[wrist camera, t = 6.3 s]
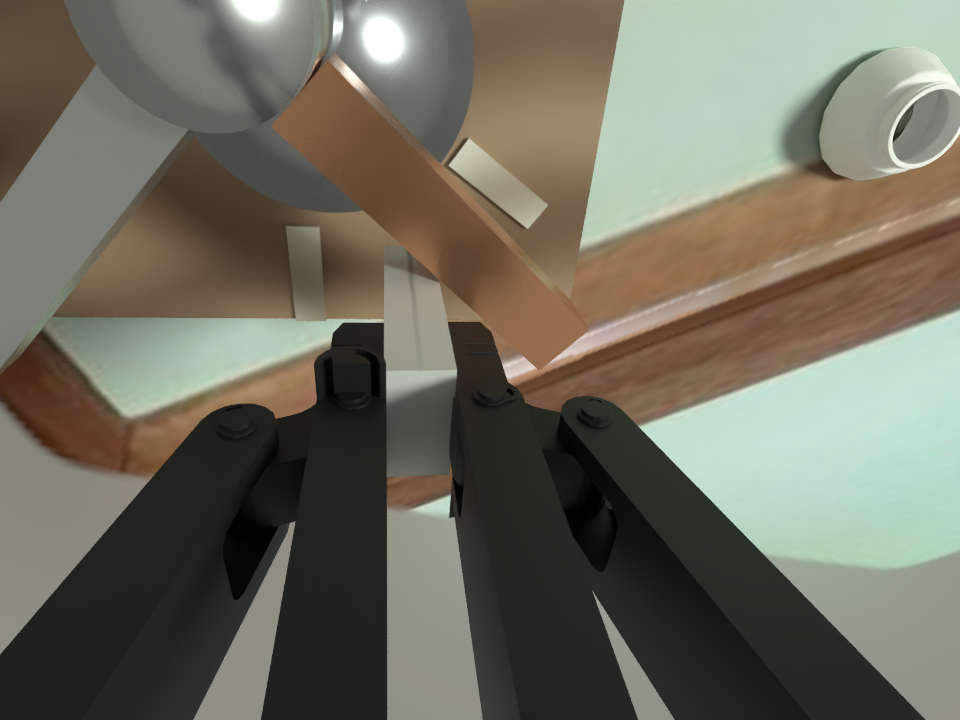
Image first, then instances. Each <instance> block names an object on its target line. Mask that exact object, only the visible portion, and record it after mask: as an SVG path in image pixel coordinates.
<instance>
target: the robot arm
mask: <svg viewBox="0 0 960 720" xmlns="http://www.w3.org/2000/svg"><path fill="white" fill-rule="evenodd" d="M314 370H315V382H316V394H317V402H316V404H315V405H314V406H312V407H311V408H309V409H307V410H305V411H303V412H301V413H297V414H294V415H291V416H286V417H282V418H278V419H275V416H274V413H273V412H271V411H270V410H269V409H267V408H266V407H264V406H260V405H256V404H235V405H230V406H225V407H222V408H220V409H218V410H216V411H213V412H211V413H210V414H209V415H207V416H206V417H205V418H204V419H202V420H201V421H200V422H199V424H198V425H197V426H196V427H195V428H194V429H193V431H192V432H191V433H190V434H189V435H188V436H187V438H186V439H185V440H184V441H183V442H182V443H181V445H180V446H179V447H178V448H177V449H176V450H175V452H174V453H173V454H172V455H171V456H170V457H169V459H168V460H167V461H166V462H165V463H164V464H163V466H162V467H161V468H160V469H159V470H158V471H157V473H156V474H155V475H154V476H153V477H152V478H151V480H150V481H149V482H148V483H147V484H146V485H145V487H144V488H143V489H142V490H141V491H140V492H139V494H138V495H137V496H136V497H135V498H134V499H133V501H132V502H131V503H130V504H129V505H128V506H127V508H126V509H125V510H124V511H123V512H122V513H121V515H120V516H119V517H118V518H117V519H116V520H115V521H114V523H113V524H112V525H111V526H110V527H109V529H108V530H107V531H106V532H105V533H104V534H103V535H102V537H101V538H100V539H99V540H98V541H97V542H96V544H95V545H94V546H93V547H92V548H91V550H90V551H89V552H88V553H87V554H86V555H85V556H84V558H83V559H82V560H81V561H80V562H79V564H78V565H77V566H76V567H75V568H74V569H73V570H72V572H71V573H70V574H69V575H68V576H67V577H66V579H65V580H64V581H63V582H62V583H61V584H60V586H59V587H58V588H57V589H56V590H55V591H54V593H53V594H52V595H51V596H50V597H49V598H48V600H47V601H46V602H45V603H44V604H43V605H42V607H41V608H40V609H39V610H38V611H37V612H36V613H35V615H34V616H33V617H32V618H31V619H30V621H29V622H28V623H27V624H26V625H25V626H24V627H23V629H22V630H21V631H20V632H19V633H18V634H17V636H16V637H15V638H14V639H13V640H12V641H11V643H10V644H9V645H8V646H7V647H6V648H5V650H4V651H3V652H2V653H1V654H0V720H193V719H194V717H195V715H196V713H197V711H198V709H199V707H200V705H201V703H202V701H203V699H204V697H205V695H206V693H207V691H208V689H209V687H210V685H211V683H212V681H213V679H214V677H215V675H216V673H217V671H218V669H219V667H220V665H221V663H222V661H223V659H224V657H225V655H226V653H227V651H228V649H229V647H230V645H231V643H232V641H233V639H234V637H235V635H236V633H237V631H238V629H239V627H240V625H241V623H242V622H243V620H244V617H245V615H246V613H247V612H248V609H249V608H250V606H251V604H252V602H253V599H254V598H255V596H256V594H257V592H258V590H259V587H260V586H261V584H262V581H263V580H264V578H265V576H266V574H267V571H268V570H269V568H270V566H271V564H272V562H273V560H274V558H275V556H276V554H277V552H278V550H279V548H280V546H281V544H282V542H283V540H284V538H285V536H286V534H287V532H288V528H289V524H290V523H291V522H294V521H296V523H295V529H294V534H293V540H292V545H291V551H290V557H289V562H288V568H287V574H286V580H285V585H284V591H283V597H282V602H281V608H280V614H279V620H278V625H277V631H276V637H275V643H274V649H273V654H272V660H271V666H270V671H269V677H268V682H267V688H266V694H265V700H264V705H263V711H262V717H261V720H387V477H396V476H425V475H449V472H450V461H451V468H452V474H453V477H452V489H451V502H450V514H449V517H450V518H451V517H455V522H456V529H457V537H458V544H459V551H460V558H461V566H462V573H463V580H464V587H465V594H466V601H467V608H468V615H469V623H470V630H471V637H472V645H473V652H474V659H475V666H476V673H477V680H478V687H479V695H480V702H481V709H482V716H483V720H638V718H637V715H636V713H635V710H634V707H633V704H632V701H631V698H630V696H629V693H628V690H627V687H626V685H625V682H624V679H623V676H622V673H621V670H620V668H619V665H618V662H617V659H616V656H615V654H614V651H613V648H612V645H611V642H610V639H609V637H608V634H607V631H606V628H605V625H604V623H603V620H602V617H601V614H600V611H599V609H598V606H597V603H596V600H595V597H594V595H593V592H594V594H595V595H596V597H597V598H598V600H599V601H600V603H601V605H602V606H603V608H604V609H605V611H606V612H607V614H608V615H609V617H610V619H611V620H612V622H613V623H614V625H615V627H616V628H617V630H618V631H619V633H620V634H621V636H622V638H623V639H624V641H625V642H626V644H627V645H628V647H629V649H630V650H631V652H632V653H633V655H634V656H635V658H636V659H637V661H638V663H639V664H640V666H641V667H642V669H643V670H644V672H645V673H646V675H647V677H648V678H649V680H650V681H651V683H652V684H653V686H654V688H655V689H656V691H657V692H658V694H659V696H660V697H661V699H662V700H663V702H664V703H665V705H666V707H667V708H668V710H669V711H670V713H671V714H672V716H673V718H674V719H675V720H925V719H924V718H923V717H922V716H921V715H920V714H919V713H918V712H917V711H916V710H915V709H914V708H913V707H912V706H911V705H910V703H909V702H907V700H906V699H905V698H904V697H903V696H902V695H901V694H900V693H899V692H898V691H897V690H896V689H895V688H894V687H893V686H892V685H891V684H890V683H889V682H888V681H887V680H886V679H885V678H884V677H883V676H882V675H881V674H880V673H879V672H878V671H877V670H876V669H875V668H874V667H873V666H872V665H871V664H870V663H869V662H868V661H867V660H866V659H865V658H864V657H863V656H862V655H861V654H860V652H858V651H857V649H856V648H855V647H854V646H853V645H852V644H851V643H850V642H849V641H848V640H847V639H846V638H845V637H844V636H843V635H842V634H841V633H840V632H839V631H838V630H837V629H836V628H835V627H834V626H833V625H832V624H831V623H830V622H829V621H828V620H827V619H826V618H825V617H824V616H823V615H822V614H821V613H820V612H819V611H818V610H817V609H816V608H815V607H814V605H813V604H812V603H811V602H810V601H808V599H807V598H806V597H804V595H803V594H802V593H801V592H800V591H799V590H798V589H797V588H796V587H795V586H794V585H793V584H792V583H791V582H790V581H789V580H788V579H787V578H786V577H785V576H784V575H783V574H782V573H781V572H780V571H779V570H778V569H777V568H776V567H775V566H774V565H773V564H772V563H771V562H770V561H769V560H768V559H767V558H766V556H765V555H764V554H763V553H762V552H761V551H760V550H759V549H758V548H757V547H756V546H755V545H754V544H753V543H752V542H751V541H750V540H749V539H748V538H747V537H746V536H745V535H744V534H743V533H742V532H741V531H740V530H739V529H738V528H737V527H736V526H735V525H734V524H733V523H732V522H731V521H730V520H729V519H728V518H727V517H726V516H725V515H724V514H723V513H722V512H721V511H720V510H719V509H718V508H717V506H716V505H715V504H714V503H713V502H712V501H711V500H710V499H709V498H708V497H707V496H706V495H705V494H704V493H703V492H702V491H701V490H700V489H699V488H698V487H697V486H696V485H695V484H694V483H693V482H692V481H691V480H690V479H689V478H688V477H687V476H686V475H685V474H684V473H683V472H682V471H681V470H680V469H679V468H678V467H677V466H676V465H675V464H674V463H673V462H672V461H671V460H670V459H669V457H668V456H667V455H666V454H665V453H664V452H663V451H662V450H661V449H660V448H659V447H658V446H657V445H656V444H655V443H654V442H653V441H652V440H651V439H650V438H649V437H648V436H647V435H646V434H645V433H644V432H643V431H642V430H641V429H640V428H639V427H638V426H637V425H636V424H635V423H634V422H633V421H632V420H631V419H630V418H629V417H628V416H627V415H626V414H625V413H624V412H623V411H622V410H621V409H620V408H619V407H617V406H616V405H615V404H613V403H611V402H609V401H606V400H604V399H602V398H597V397H591V396H581V397H575V398H572V399H569V400H567V401H566V402H565V403H564V404H563V405H562V409H561V412H556V411H551V410H546V409H541V408H537V407H534V406H531V405H529V404H527V403H525V401H524V398H523V396H522V394H521V393H520V391H519V390H518V389H517V388H516V387H514V386H513V385H511V384H510V383H508V381H507V378H506V375H505V372H504V369H503V366H502V363H501V360H500V357H499V355H498V351H497V348H496V346H495V342H494V339H493V336H492V333H491V331H489V330H488V329H487V328H486V327H485V326H484V325H483V324H482V323H480V322H447V317H446V312H445V307H444V302H443V297H442V292H441V287H440V282H439V279H438V278H437V277H436V276H435V275H434V274H433V273H432V272H430V271H429V270H428V269H427V268H426V267H425V266H424V265H423V264H422V263H421V262H419V261H418V260H417V259H416V258H415V257H414V256H413V255H412V254H411V253H410V252H408V251H407V250H406V249H405V248H404V247H403V246H384V323H343V324H342V325H341V326H340V327H339V328H338V329H337V330H336V331H335V332H334V333H333V337H332V343H331V349H330V350H327V351H325V352H324V353H322V354H321V355H319V356H318V357H317V359H316V361H315V363H314ZM592 590H593V592H592Z"/></svg>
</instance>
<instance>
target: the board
mask: <svg viewBox="0 0 960 720" xmlns="http://www.w3.org/2000/svg"><path fill="white" fill-rule="evenodd" d="M465 1H466V5H467V9H468V13H469V16H470V20H471V27H472V34H473V41H474V66H475V67H474V78H473V88H472V93H471V98H470V103H469V107H468V111H467V113H466V116H465V119H464V122H463V125H462V128H461V130H460V132H459V134H458V136H457V138H456V140H455V142H454V144H453V146H452V147H451V149H450V150H449V152H448V153H447V155H446V156H445V158H444V160H443V161H442V162H441V163H440V164H441V165H442V166H443V167H444V168H445V169H446V170H447V171H448V172H449V173H450V174H451V175H452V176H453V177H454V178H455V179H456V180H457V182H458V183H459V184H460V185H461V186H462V187H463V188H464V189H465V190H466V191H467V192H468V193H469V194H470V195H471V196H472V197H473V198H474V199H475V200H476V201H477V203H478V204H479V205H480V206H481V207H482V208H483V209H484V210H485V211H486V212H487V213H488V214H489V215H490V216H491V217H492V218H493V219H494V220H495V221H496V222H497V223H498V225H499V226H500V227H501V228H502V229H503V230H504V231H505V232H506V233H507V234H508V235H509V236H510V237H511V238H512V239H513V240H514V241H515V242H516V243H517V244H518V246H519V247H520V248H521V249H522V250H523V251H524V252H525V253H526V254H527V255H528V256H529V257H530V258H531V259H532V260H533V261H534V262H535V263H536V264H537V265H538V266H539V268H540V269H541V270H542V271H543V272H544V273H545V274H546V275H547V276H548V277H549V278H550V279H551V280H552V281H553V282H554V283H555V284H556V285H557V286H558V287H559V288H560V290H561V291H562V292H563V293H564V294H565V295H566V296H567V297H568V298H569V299H570V297H571V291H572V286H573V280H574V275H575V269H576V264H577V258H578V253H579V247H580V242H581V236H582V231H583V225H584V220H585V214H586V209H587V203H588V198H589V192H590V187H591V181H592V175H593V170H594V164H595V159H596V153H597V148H598V142H599V137H600V131H601V126H602V120H603V115H604V109H605V104H606V98H607V93H608V87H609V82H610V76H611V71H612V65H613V60H614V54H615V49H616V43H617V38H618V32H619V27H620V21H621V16H622V10H623V5H624V0H465ZM95 65H96V63H95V62H94V61H93V59H92V58H91V57H90V55H89V53H88V52H87V50H86V48H85V47H84V45H83V44H82V42H81V40H80V38H79V36H78V34H77V32H76V30H75V28H74V26H73V24H72V22H71V19H70V16H69V13H68V11H67V8H66V5H65V2H64V0H0V202H1V201H2V200H3V198H4V197H5V195H6V194H7V192H8V191H9V189H10V188H11V187H12V185H13V184H14V182H15V181H16V179H17V178H18V176H19V175H20V174H21V172H22V171H23V169H24V168H25V166H26V165H27V163H28V162H29V161H30V159H31V158H32V156H33V155H34V153H35V152H36V151H37V149H38V148H39V146H40V145H41V143H42V142H43V140H44V139H45V138H46V136H47V135H48V133H49V132H50V130H51V129H52V127H53V126H54V125H55V123H56V122H57V120H58V119H59V117H60V116H61V114H62V113H63V112H64V110H65V109H66V107H67V106H68V104H69V103H70V101H71V100H72V99H73V97H74V96H75V94H76V93H77V91H78V90H79V88H80V87H81V86H82V84H83V83H84V81H85V80H86V78H87V77H88V76H89V74H90V73H91V71H92V70H93V68H94V67H95ZM384 246H402V245H401V244H400V243H398V242H397V241H396V240H395V239H394V238H393V237H392V236H391V235H390V234H389V233H387V232H386V231H385V230H384V229H383V228H382V227H381V226H380V225H379V224H378V223H376V222H375V221H374V220H373V219H372V218H371V217H370V216H369V215H368V214H367V213H365V212H364V211H363V210H361V211H356V212H345V213H328V212H316V211H311V210H305V209H300V208H297V207H294V206H290V205H287V204H284V203H281V202H279V201H276V200H274V199H272V198H270V197H267V196H265V195H263V194H261V193H260V192H258V191H256V190H255V189H253V188H251V187H249V186H248V185H246V184H245V183H243V182H242V181H241V180H239V179H238V178H237V177H235V176H234V175H232V174H231V173H230V172H229V171H227V170H226V169H225V168H224V167H223V166H222V165H221V164H220V163H219V162H218V161H217V160H216V159H214V158H213V157H212V156H211V154H210V153H209V152H208V151H207V150H206V149H205V148H204V146H203V145H202V144H201V143H200V142H199V141H198V139H197V138H196V137H194V138H193V140H192V141H191V142H190V143H189V145H188V146H187V147H186V148H185V150H184V151H183V152H182V154H181V155H180V156H179V157H178V159H177V160H176V161H175V162H174V164H173V165H172V166H171V167H170V169H169V170H168V171H167V172H166V174H165V175H164V176H163V177H162V179H161V180H160V181H159V182H158V184H157V185H156V186H155V187H154V189H153V190H152V191H151V192H150V194H149V195H148V196H147V198H146V199H145V200H144V201H143V203H142V204H141V205H140V206H139V208H138V209H137V210H136V211H135V213H134V214H133V215H132V216H131V218H130V219H129V220H128V221H127V223H126V224H125V225H124V226H123V228H122V229H121V230H120V231H119V233H118V234H117V235H116V236H115V238H114V239H113V240H112V241H111V243H110V244H109V245H108V247H107V248H106V249H105V250H104V252H103V253H102V254H101V255H100V257H99V258H98V259H97V260H96V262H95V263H94V264H93V265H92V267H91V268H90V269H89V270H88V272H87V273H86V274H85V275H84V277H83V278H82V279H81V280H80V282H79V283H78V284H77V285H76V287H75V288H74V289H73V291H72V292H71V293H70V294H69V296H68V297H67V298H66V299H65V301H64V302H63V303H62V304H61V306H60V307H59V308H58V309H57V311H56V312H55V313H54V314H53V316H52V317H168V318H296V321H326V319H384ZM439 282H440V287H441V292H442V297H443V302H444V307H445V312H446V317H447V320H483V319H482V318H481V317H480V316H479V315H478V314H477V313H476V312H474V311H473V310H472V309H471V308H470V307H469V306H468V305H467V304H466V303H465V302H463V301H462V300H461V299H460V298H459V297H458V296H457V295H456V294H455V293H454V292H452V291H451V290H450V289H449V288H448V287H447V286H446V285H445V284H444V283H443V282H441V281H440V280H439Z"/></svg>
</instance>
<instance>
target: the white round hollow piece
mask: <svg viewBox="0 0 960 720" xmlns="http://www.w3.org/2000/svg"><path fill="white" fill-rule="evenodd" d="M915 101H916V102H915ZM914 102H915V105H914V109H913V112H912V115H911V119H910V120H909V122H908V124H907V125H906V127H905V128H904V130H903V132H902V133H901V135H900V136H899V137H898V138H897V139H896V140H895V141H894V142H893V135H894V131H895V129H896V126H897V124H898V122H899V120H900V119H901V117H902V115H903V114H904V113H905V111H906V110H907V109H908V108H909V107H910V106H911V105H912V104H913V103H914ZM959 134H960V88H959V87H958V86H957V84H956V82H955V81H954V79H953V77H952V76H951V74H950V73H949V72H948V70H947V69H946V68H945V66H944V65H943V64H942V62H941V61H940V60H939V59H938V57H937V56H936V55H934V54H932V53H930V52H927V51H925V50H923V49H920V48H918V47H912V46H909V47H901V48H893V49H886V50H884V51H882V52H880V53H879V54H877V55H875V56H873V57H871V58H870V59H868V60H866V61H864V62H862V63H861V64H860V65H859V66H858V67H857V68H856V69H855V70H854V71H853V72H852V73H851V74H850V75H849V76H848V77H847V78H846V79H845V80H844V81H843V82H842V83H841V84H840V85H839V87H838V88H837V90H836V92H835V94H834V95H833V97H832V99H831V101H830V103H829V104H828V106H827V108H826V110H825V111H824V116H823V120H822V125H821V129H820V134H819V141H820V147H821V154H822V159H823V160H824V161H825V162H826V164H827V165H828V166H829V167H830V169H831V170H832V171H833V172H834V173H836V174H838V175H841V176H844V177H847V178H850V179H853V180H856V181H860V180H867V179H874V178H880V177H884V176H888V175H892V174H896V173H900V172H904V171H906V170H908V169H914V168H919V167H922V166H925V165H927V164H929V163H931V162H933V161H934V160H936V159H937V158H939V157H940V156H941V155H942V154H943V153H945V152H946V151H947V150H948V149H949V148H950V146H951V145H952V144H953V143H954V141H955V140H956V139H957V137H958V136H959ZM892 142H893V143H892Z"/></svg>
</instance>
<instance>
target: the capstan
mask: <svg viewBox="0 0 960 720" xmlns="http://www.w3.org/2000/svg"><path fill="white" fill-rule="evenodd" d="M64 2H65V5H66V8H67V11H68V13H69V16H70V19H71V22H72V24H73V26H74V28H75V30H76V32H77V34H78V36H79V38H80V40H81V42H82V44H83V45H84V47H85V48H86V50H87V52H88V53H89V55H90V57H91V58H92V59H93V61H94V62H95V63H96V65H95V67H94V68H93V70H92V71H91V73H90V74H89V76H88V77H87V78H86V80H85V81H84V83H83V84H82V86H81V87H80V88H79V90H78V91H77V93H76V94H75V96H74V97H73V99H72V100H71V101H70V103H69V104H68V106H67V107H66V109H65V110H64V112H63V113H62V114H61V116H60V117H59V119H58V120H57V122H56V123H55V125H54V126H53V127H52V129H51V130H50V132H49V133H48V135H47V136H46V138H45V139H44V140H43V142H42V143H41V145H40V146H39V148H38V149H37V151H36V152H35V153H34V155H33V156H32V158H31V159H30V161H29V162H28V163H27V165H26V166H25V168H24V169H23V171H22V172H21V174H20V175H19V176H18V178H17V179H16V181H15V182H14V184H13V185H12V187H11V188H10V189H9V191H8V192H7V194H6V195H5V197H4V198H3V200H2V201H1V202H0V374H1V373H3V372H4V371H5V370H6V369H7V368H8V367H9V366H10V365H11V364H12V363H13V362H14V361H15V360H16V359H17V358H18V357H19V356H21V355H22V353H23V352H24V351H25V350H26V348H27V347H28V346H29V345H30V343H31V342H32V341H33V340H34V338H35V337H36V336H37V335H38V333H39V332H40V331H41V329H42V328H43V327H44V326H45V324H46V323H47V322H48V321H49V319H50V318H51V317H52V316H53V314H54V313H55V312H56V311H57V309H58V308H59V307H60V306H61V304H62V303H63V302H64V301H65V299H66V298H67V297H68V296H69V294H70V293H71V292H72V291H73V289H74V288H75V287H76V285H77V284H78V283H79V282H80V280H81V279H82V278H83V277H84V275H85V274H86V273H87V272H88V270H89V269H90V268H91V267H92V265H93V264H94V263H95V262H96V260H97V259H98V258H99V257H100V255H101V254H102V253H103V252H104V250H105V249H106V248H107V247H108V245H109V244H110V243H111V241H112V240H113V239H114V238H115V236H116V235H117V234H118V233H119V231H120V230H121V229H122V228H123V226H124V225H125V224H126V223H127V221H128V220H129V219H130V218H131V216H132V215H133V214H134V213H135V211H136V210H137V209H138V208H139V206H140V205H141V204H142V203H143V201H144V200H145V199H146V198H147V196H148V195H149V194H150V192H151V191H152V190H153V189H154V187H155V186H156V185H157V184H158V182H159V181H160V180H161V179H162V177H163V176H164V175H165V174H166V172H167V171H168V170H169V169H170V167H171V166H172V165H173V164H174V162H175V161H176V160H177V159H178V157H179V156H180V155H181V154H182V152H183V151H184V150H185V148H186V147H187V146H188V145H189V143H190V142H191V141H192V140H193V138H194V137H196V138H197V139H198V141H199V142H200V143H201V144H202V145H203V146H204V148H205V149H206V150H207V151H208V152H209V153H210V154H211V156H212V157H213V158H214V159H216V160H217V161H218V162H219V163H220V164H221V165H222V166H223V167H224V168H225V169H226V170H227V171H229V172H230V173H231V174H232V175H234V176H235V177H237V178H238V179H239V180H241V181H242V182H243V183H245V184H246V185H248V186H249V187H251V188H253V189H255V190H256V191H258V192H260V193H261V194H263V195H265V196H267V197H270V198H272V199H274V200H276V201H279V202H281V203H284V204H287V205H290V206H294V207H297V208H300V209H305V210H311V211H316V212H328V213H345V212H356V211H361V210H363V211H364V212H365V213H367V214H368V215H369V216H370V217H371V218H372V219H373V220H374V221H375V222H376V223H378V224H379V225H380V226H381V227H382V228H383V229H384V230H385V231H386V232H387V233H389V234H390V235H391V236H392V237H393V238H394V239H395V240H396V241H397V242H398V243H400V244H401V245H402V246H403V247H404V248H405V249H406V250H407V251H408V252H410V253H411V254H412V255H413V256H414V257H415V258H416V259H417V260H418V261H419V262H421V263H422V264H423V265H424V266H425V267H426V268H427V269H428V270H429V271H430V272H432V273H433V274H434V275H435V276H436V277H437V278H438V279H439V280H440V281H441V282H443V283H444V284H445V285H446V286H447V287H448V288H449V289H450V290H451V291H452V292H454V293H455V294H456V295H457V296H458V297H459V298H460V299H461V300H462V301H463V302H465V303H466V304H467V305H468V306H469V307H470V308H471V309H472V310H473V311H474V312H476V313H477V314H478V315H479V316H480V317H481V318H482V319H483V320H484V321H485V322H487V323H488V324H489V325H490V326H491V327H492V328H493V329H494V330H495V331H496V332H498V333H499V334H500V335H501V336H502V337H503V338H504V339H505V340H506V341H507V342H509V343H510V344H511V345H512V346H513V347H514V348H515V349H516V350H517V351H518V352H520V353H521V354H522V355H523V356H524V357H525V358H526V359H527V360H528V361H529V362H531V363H532V364H533V365H534V366H535V367H536V368H537V369H538V370H540V369H542V368H543V367H544V366H545V365H547V364H548V363H549V362H550V361H552V360H553V359H554V358H555V357H556V356H558V355H559V354H560V353H561V352H563V351H564V350H565V349H566V348H568V347H569V346H570V345H571V344H572V343H574V342H575V341H576V340H577V339H579V338H580V337H581V336H582V335H584V334H585V333H586V332H587V331H588V330H589V329H588V328H587V326H586V324H585V323H584V321H583V319H582V318H581V316H580V314H579V313H578V311H577V309H576V308H575V306H574V304H573V303H572V301H571V300H570V299H569V298H568V297H567V296H566V295H565V294H564V293H563V292H562V291H561V290H560V288H559V287H558V286H557V285H556V284H555V283H554V282H553V281H552V280H551V279H550V278H549V277H548V276H547V275H546V274H545V273H544V272H543V271H542V270H541V269H540V268H539V266H538V265H537V264H536V263H535V262H534V261H533V260H532V259H531V258H530V257H529V256H528V255H527V254H526V253H525V252H524V251H523V250H522V249H521V248H520V247H519V246H518V244H517V243H516V242H515V241H514V240H513V239H512V238H511V237H510V236H509V235H508V234H507V233H506V232H505V231H504V230H503V229H502V228H501V227H500V226H499V225H498V223H497V222H496V221H495V220H494V219H493V218H492V217H491V216H490V215H489V214H488V213H487V212H486V211H485V210H484V209H483V208H482V207H481V206H480V205H479V204H478V203H477V201H476V200H475V199H474V198H473V197H472V196H471V195H470V194H469V193H468V192H467V191H466V190H465V189H464V188H463V187H462V186H461V185H460V184H459V183H458V182H457V180H456V179H455V178H454V177H453V176H452V175H451V174H450V173H449V172H448V171H447V170H446V169H445V168H444V167H443V166H442V165H441V164H440V163H441V162H442V161H443V160H444V158H445V156H446V155H447V153H448V152H449V150H450V149H451V147H452V146H453V144H454V142H455V140H456V138H457V136H458V134H459V132H460V130H461V128H462V125H463V122H464V119H465V116H466V113H467V111H468V107H469V103H470V98H471V93H472V88H473V78H474V67H475V66H474V41H473V34H472V27H471V20H470V16H469V13H468V9H467V5H466V1H465V0H64Z"/></svg>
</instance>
